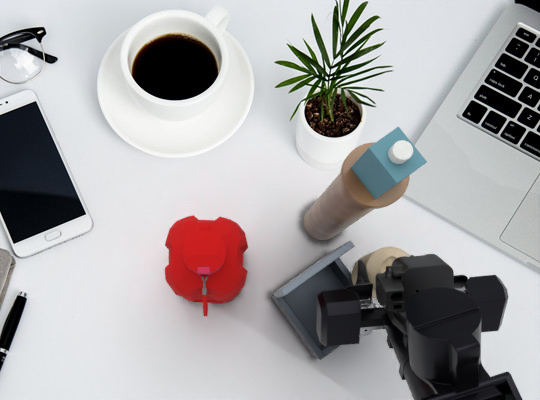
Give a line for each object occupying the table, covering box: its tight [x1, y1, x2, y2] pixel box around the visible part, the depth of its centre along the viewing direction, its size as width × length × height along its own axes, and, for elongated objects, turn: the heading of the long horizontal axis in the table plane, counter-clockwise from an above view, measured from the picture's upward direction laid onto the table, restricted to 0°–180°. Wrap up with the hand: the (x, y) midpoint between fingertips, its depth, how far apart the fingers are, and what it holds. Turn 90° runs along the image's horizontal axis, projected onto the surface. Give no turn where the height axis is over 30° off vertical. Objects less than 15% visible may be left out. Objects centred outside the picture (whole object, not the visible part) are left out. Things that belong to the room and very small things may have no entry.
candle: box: [350, 246, 411, 299], centre depth 72 cm, size 6×6×10 cm
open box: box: [270, 257, 378, 360], centre depth 80 cm, size 10×10×6 cm
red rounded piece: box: [164, 215, 249, 318], centre depth 72 cm, size 9×11×25 cm
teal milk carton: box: [351, 126, 428, 199], centre depth 51 cm, size 4×3×8 cm
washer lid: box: [272, 240, 355, 298], centre depth 73 cm, size 10×10×1 cm
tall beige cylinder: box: [303, 141, 410, 241], centre depth 70 cm, size 6×6×30 cm
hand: (385, 260), depth 70 cm, fingers closed on candle, 5 cm apart
